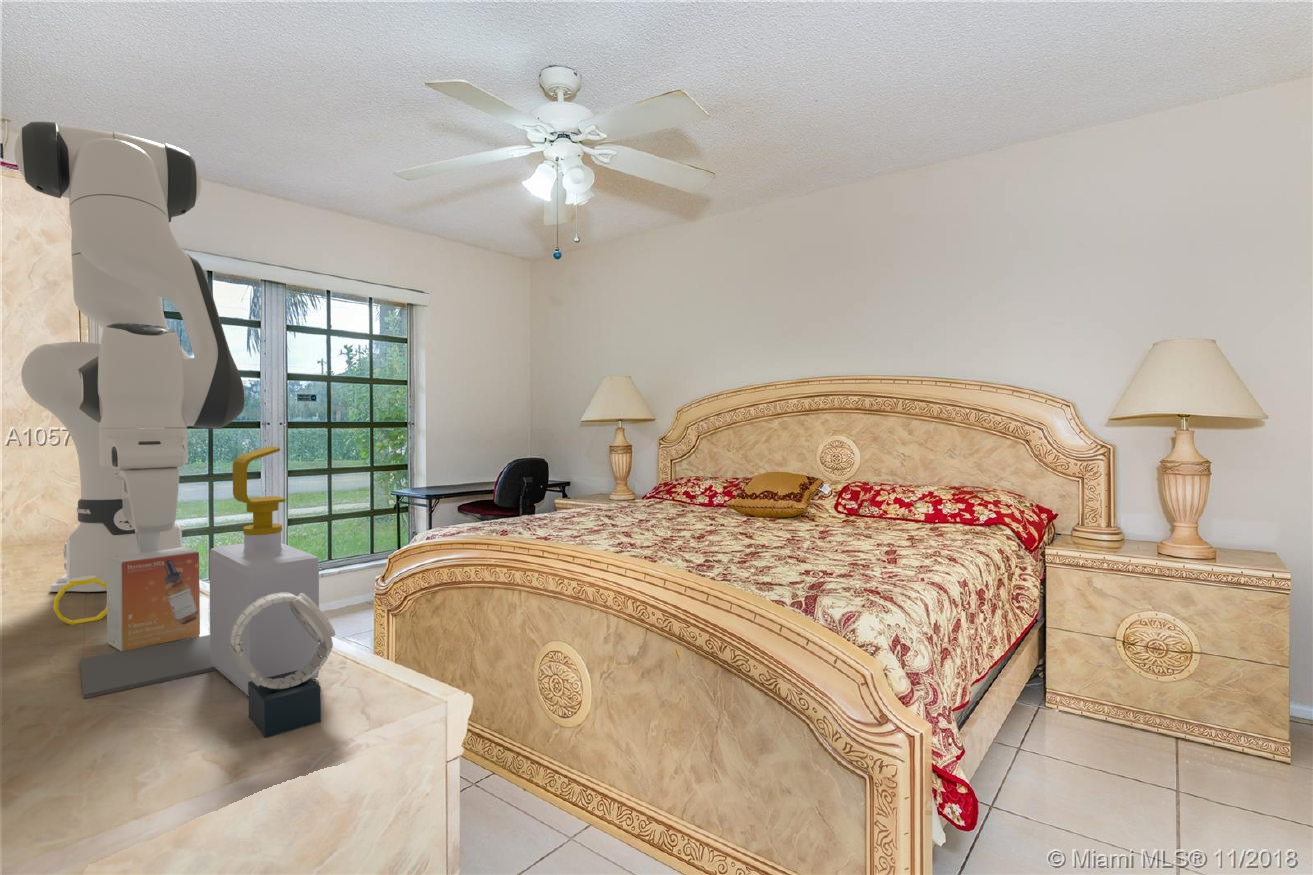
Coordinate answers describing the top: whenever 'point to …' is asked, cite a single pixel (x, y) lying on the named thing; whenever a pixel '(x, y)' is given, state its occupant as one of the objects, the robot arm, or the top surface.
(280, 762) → the top surface
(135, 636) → the small box
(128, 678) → the mat
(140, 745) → the top surface
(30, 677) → the top surface
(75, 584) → the watch
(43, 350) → the robot arm
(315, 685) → the watch
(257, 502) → the soap bottle
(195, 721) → the top surface
